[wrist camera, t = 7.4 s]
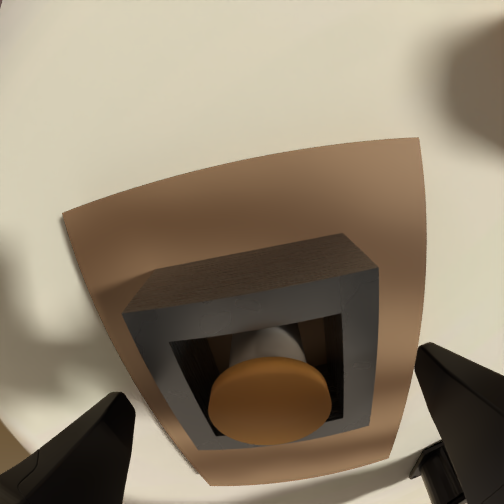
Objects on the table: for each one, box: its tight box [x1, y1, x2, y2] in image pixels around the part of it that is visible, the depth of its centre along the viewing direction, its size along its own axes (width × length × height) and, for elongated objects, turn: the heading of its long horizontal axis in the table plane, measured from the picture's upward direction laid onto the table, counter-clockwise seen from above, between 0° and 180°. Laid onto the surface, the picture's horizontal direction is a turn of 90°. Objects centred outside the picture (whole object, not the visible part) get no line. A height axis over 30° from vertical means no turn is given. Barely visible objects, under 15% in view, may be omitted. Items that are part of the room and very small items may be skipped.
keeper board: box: [62, 137, 427, 486], centre depth 10 cm, size 20×13×5 cm, turn 12°
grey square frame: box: [121, 233, 379, 450], centre depth 9 cm, size 6×6×3 cm
